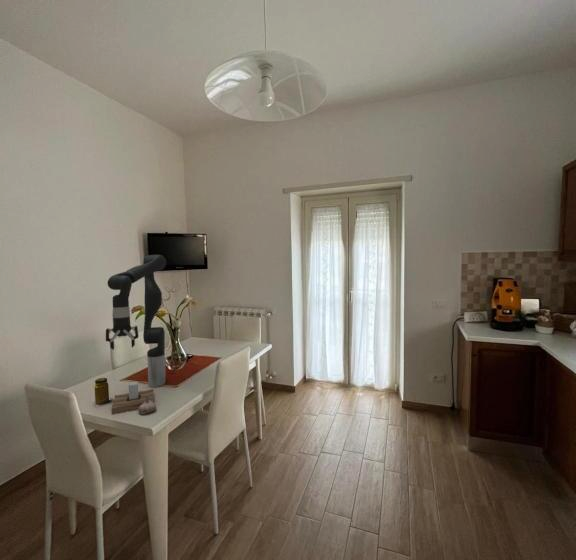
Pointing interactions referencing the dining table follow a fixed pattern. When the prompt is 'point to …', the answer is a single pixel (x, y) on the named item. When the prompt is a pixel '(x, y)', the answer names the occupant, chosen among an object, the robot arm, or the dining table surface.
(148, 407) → the garlic bulb
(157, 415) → the dining table surface
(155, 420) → the dining table surface
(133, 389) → the peg
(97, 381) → the condiment
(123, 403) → the board
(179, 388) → the dining table surface
